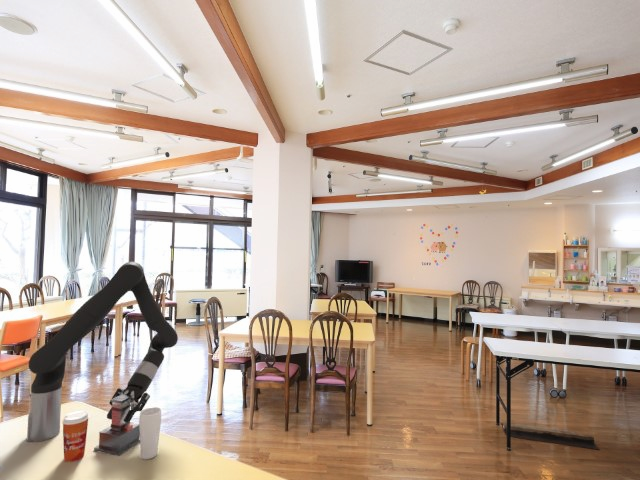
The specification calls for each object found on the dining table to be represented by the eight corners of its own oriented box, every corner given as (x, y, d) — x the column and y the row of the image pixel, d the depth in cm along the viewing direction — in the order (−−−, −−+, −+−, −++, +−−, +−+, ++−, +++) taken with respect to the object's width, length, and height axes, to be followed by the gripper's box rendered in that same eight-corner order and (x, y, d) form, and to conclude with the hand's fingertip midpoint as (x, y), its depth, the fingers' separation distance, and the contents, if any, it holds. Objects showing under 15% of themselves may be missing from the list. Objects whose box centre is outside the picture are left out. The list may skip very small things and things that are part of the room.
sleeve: (119, 456, 119) (119, 434, 119) (94, 450, 122) (94, 429, 122) (143, 439, 129) (144, 420, 129) (120, 434, 132) (120, 415, 132)
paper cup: (57, 466, 112) (60, 422, 113) (62, 454, 119) (64, 412, 120) (86, 460, 116) (88, 417, 117) (89, 448, 123) (91, 408, 123)
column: (119, 448, 123) (121, 401, 123) (109, 446, 124) (111, 399, 124) (129, 441, 127) (131, 396, 128) (119, 439, 128) (121, 394, 129)
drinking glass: (151, 462, 115) (152, 416, 116) (133, 460, 117) (135, 414, 117) (164, 451, 122) (165, 408, 122) (147, 449, 123) (148, 406, 124)
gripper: (123, 369, 136) (95, 413, 124) (153, 373, 132) (127, 419, 120) (133, 378, 140) (107, 421, 129) (163, 383, 136) (138, 427, 125)
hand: (117, 420), depth 124 cm, fingers open, 7 cm apart
